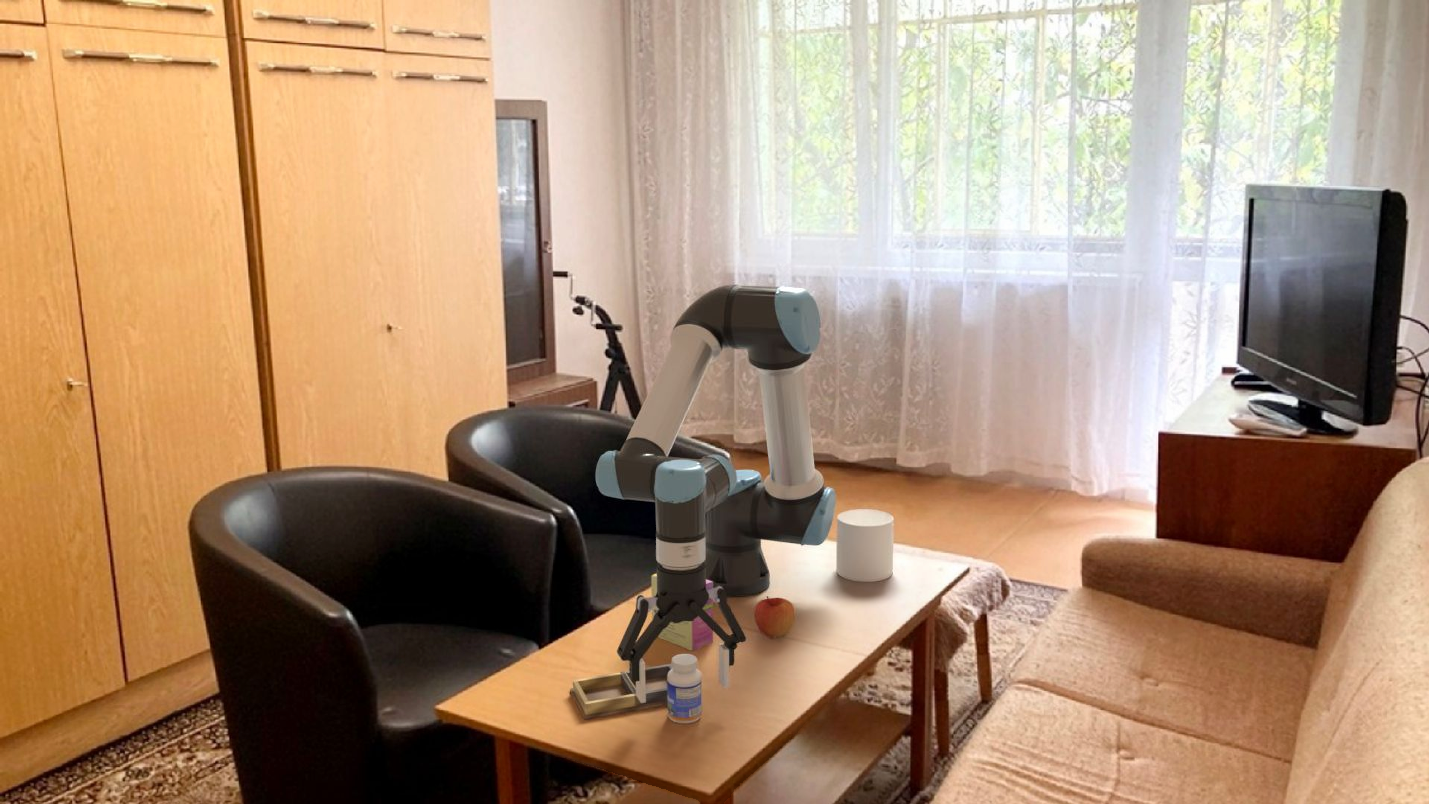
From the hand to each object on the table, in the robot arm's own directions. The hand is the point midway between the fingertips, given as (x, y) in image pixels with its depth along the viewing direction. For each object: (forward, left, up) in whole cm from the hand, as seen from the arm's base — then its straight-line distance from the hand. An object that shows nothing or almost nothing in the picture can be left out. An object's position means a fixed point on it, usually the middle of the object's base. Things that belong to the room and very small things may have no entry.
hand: (683, 692), depth 178 cm
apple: (-23, +25, -5) cm, 35 cm away
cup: (-46, +55, -5) cm, 72 cm away
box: (-28, +9, -5) cm, 30 cm away
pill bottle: (-1, 0, -5) cm, 5 cm away
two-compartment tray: (-10, -6, -4) cm, 13 cm away
